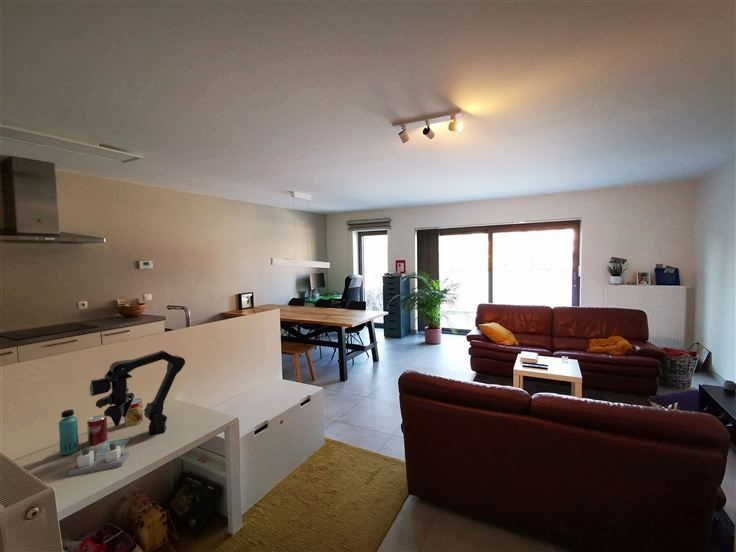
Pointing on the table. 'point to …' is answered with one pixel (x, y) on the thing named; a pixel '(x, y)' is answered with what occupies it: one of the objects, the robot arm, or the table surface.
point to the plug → (113, 453)
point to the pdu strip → (98, 465)
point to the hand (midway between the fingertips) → (120, 421)
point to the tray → (106, 445)
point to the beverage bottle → (68, 433)
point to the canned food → (134, 413)
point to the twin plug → (85, 458)
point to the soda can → (97, 430)
